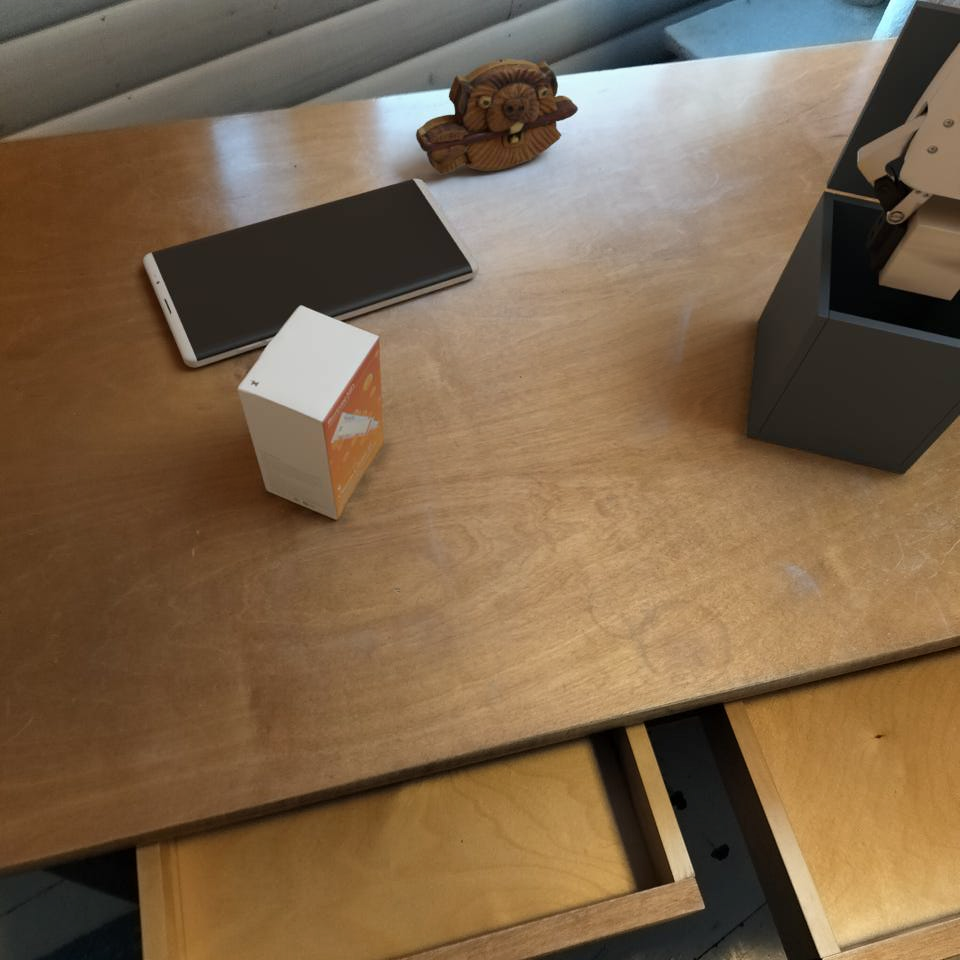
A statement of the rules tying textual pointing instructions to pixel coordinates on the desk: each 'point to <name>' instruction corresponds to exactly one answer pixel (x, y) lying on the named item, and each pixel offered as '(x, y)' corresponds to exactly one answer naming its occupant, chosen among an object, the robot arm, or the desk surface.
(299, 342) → the small box
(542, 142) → the wooden carving
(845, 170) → the lid
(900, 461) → the chest
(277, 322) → the smartphone
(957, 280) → the block
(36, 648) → the desk surface
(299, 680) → the desk surface
